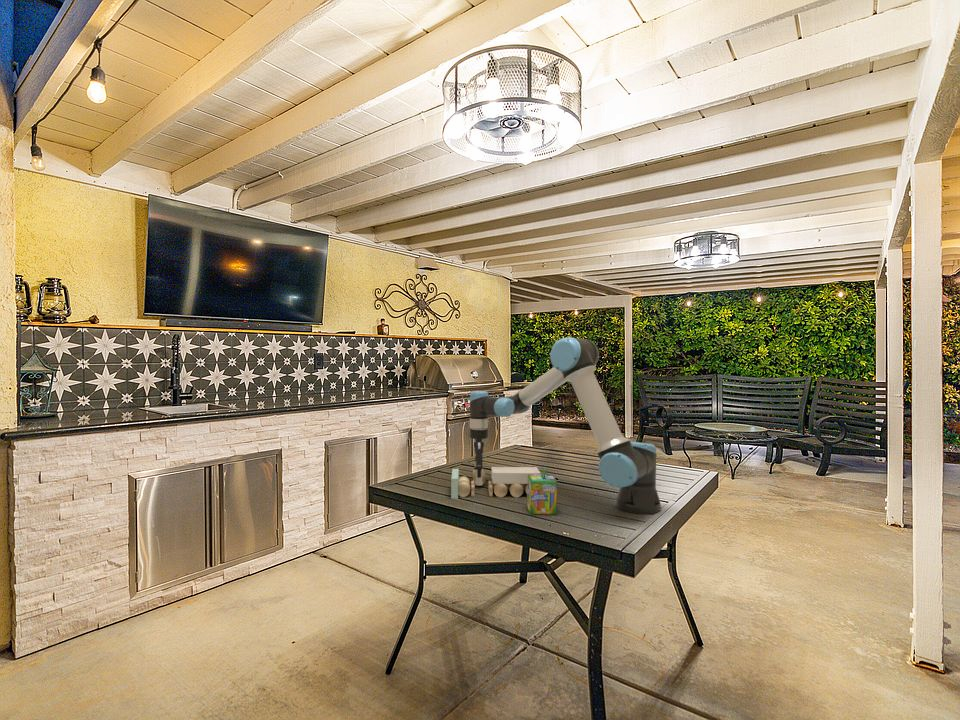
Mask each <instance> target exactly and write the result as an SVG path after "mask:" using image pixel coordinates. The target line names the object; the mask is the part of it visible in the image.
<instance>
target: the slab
mask: <svg viewBox="0 0 960 720" xmlns="http://www.w3.org/2000/svg"><path fill="white" fill-rule="evenodd" d="M528 474H539V475H541V474H542V472H541V471H540V470H539V468H538V467H536V466H535V467H532V466H524V467H523V466H491V476H490V477H491V481H492V485H493V484H506V485H508V484H521V485H523V484H528Z"/></svg>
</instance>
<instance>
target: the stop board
mask: <svg viewBox="0 0 960 720" xmlns="http://www.w3.org/2000/svg"><path fill="white" fill-rule="evenodd" d="M451 469H452V472H451V484H450V486H451V487H450V499H451V500H459V495H458V480H459V478H460V477H459V475H460V474H459V473H460V469H459V468H451Z"/></svg>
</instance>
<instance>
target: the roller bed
mask: <svg viewBox="0 0 960 720" xmlns="http://www.w3.org/2000/svg"><path fill="white" fill-rule="evenodd" d="M487 483H488V484H487V485H488V486H487V489H488V491H487V492H488V496H489V497H493V496H494V495H493V493H494V494H495V496H496V497H498V498H502V497H503V498H504V497H505V496H506V495H507V494H508V490H509V492H510V495H511V496H512V497H513V498H519V497H521V496H522V495H523V494H524V492H525V494H527V486H528V484H493V482H492V480H488V482H487ZM475 486H476V484H475V483H474V481H473V480H471V481H470V479H469V478H468V477H467V476H460V477H459V480H458V497H459V496H460V497H462V498H466V497H467V496H468V495H470V496H471V497H475V490H476V489H475ZM470 493H471V494H470Z"/></svg>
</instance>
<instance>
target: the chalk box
mask: <svg viewBox="0 0 960 720" xmlns="http://www.w3.org/2000/svg"><path fill="white" fill-rule="evenodd" d="M547 470H548V469H547V468H546V466H543V468H542V472H541V475H539V474H528V486H527V493H526V507H527V510H528V512H529V513H530V515H557V514H558V513H557V505H558V504H557V499H558V480H557V479H556V477H555V475H553V474H547Z"/></svg>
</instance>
